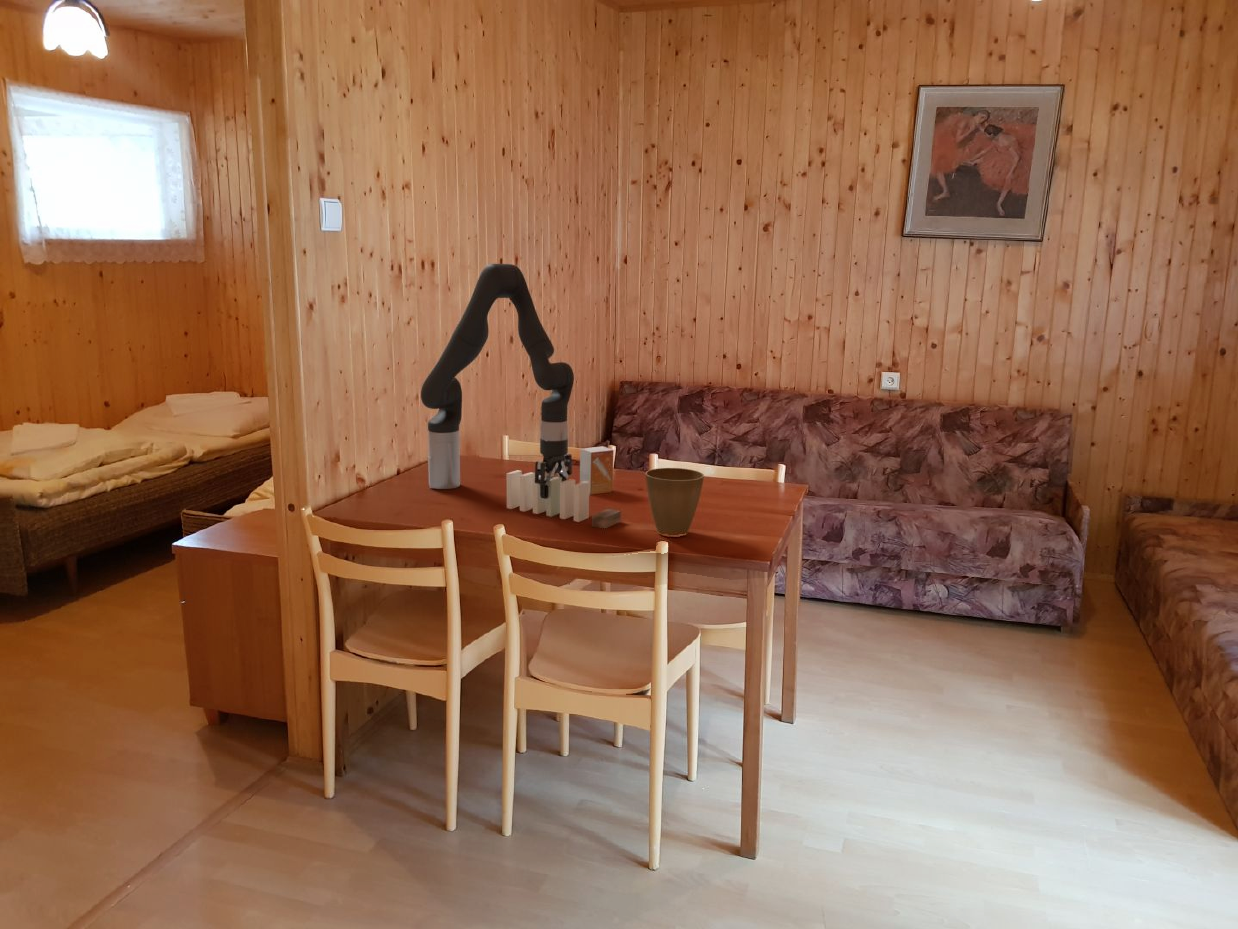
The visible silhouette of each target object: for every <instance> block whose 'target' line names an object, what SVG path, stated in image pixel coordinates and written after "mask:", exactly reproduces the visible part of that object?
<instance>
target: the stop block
mask: <svg viewBox="0 0 1238 929" xmlns="http://www.w3.org/2000/svg"><path fill="white" fill-rule="evenodd" d="M621 518H622V511H621V510H617V509H613V508H607V509H604V510H601V511H599V512H596V513H595V514H592V515H591V527H593V528H597V529H603V528H604V530H605V528H606V529H607V528H610V527H612V526H614V524H615V523H617V522H619V521H621V520H622V519H621ZM621 522H622V521H621ZM619 523H620V522H619ZM617 524H618V523H617ZM615 525H616V524H615Z"/></svg>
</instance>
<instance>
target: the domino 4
mask: <svg viewBox="0 0 1238 929" xmlns="http://www.w3.org/2000/svg"><path fill="white" fill-rule="evenodd" d="M560 482H562V477H559V476H555V477H554V476H553V478H551V479H550V481H549V484H548V485H549V497H548V498H547V499H546V511H545V514H546V515H545V516H547V517H554V516H556V515H560Z"/></svg>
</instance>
